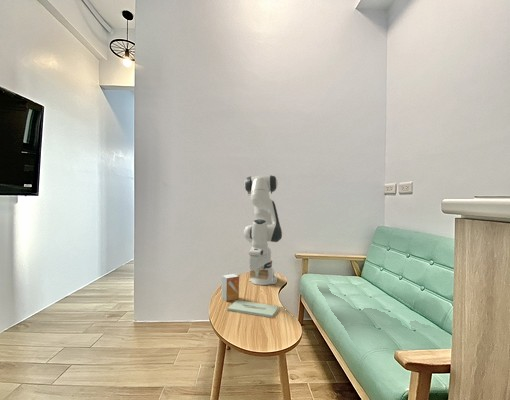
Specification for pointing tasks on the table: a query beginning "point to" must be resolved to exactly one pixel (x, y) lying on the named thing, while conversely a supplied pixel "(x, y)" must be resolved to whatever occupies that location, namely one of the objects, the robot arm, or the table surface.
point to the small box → (230, 287)
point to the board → (253, 308)
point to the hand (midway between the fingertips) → (259, 274)
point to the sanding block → (260, 274)
